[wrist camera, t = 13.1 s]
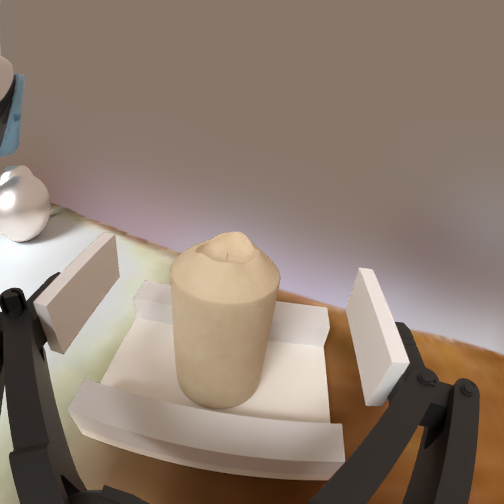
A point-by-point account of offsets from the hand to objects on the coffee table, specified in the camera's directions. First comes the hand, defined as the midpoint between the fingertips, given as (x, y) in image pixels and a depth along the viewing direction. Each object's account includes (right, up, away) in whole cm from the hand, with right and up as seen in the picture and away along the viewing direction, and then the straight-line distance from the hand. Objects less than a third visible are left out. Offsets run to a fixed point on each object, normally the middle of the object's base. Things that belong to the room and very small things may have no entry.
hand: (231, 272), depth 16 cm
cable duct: (-1, -8, +4) cm, 9 cm away
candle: (-1, -7, +4) cm, 8 cm away
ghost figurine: (-30, +3, +18) cm, 35 cm away
